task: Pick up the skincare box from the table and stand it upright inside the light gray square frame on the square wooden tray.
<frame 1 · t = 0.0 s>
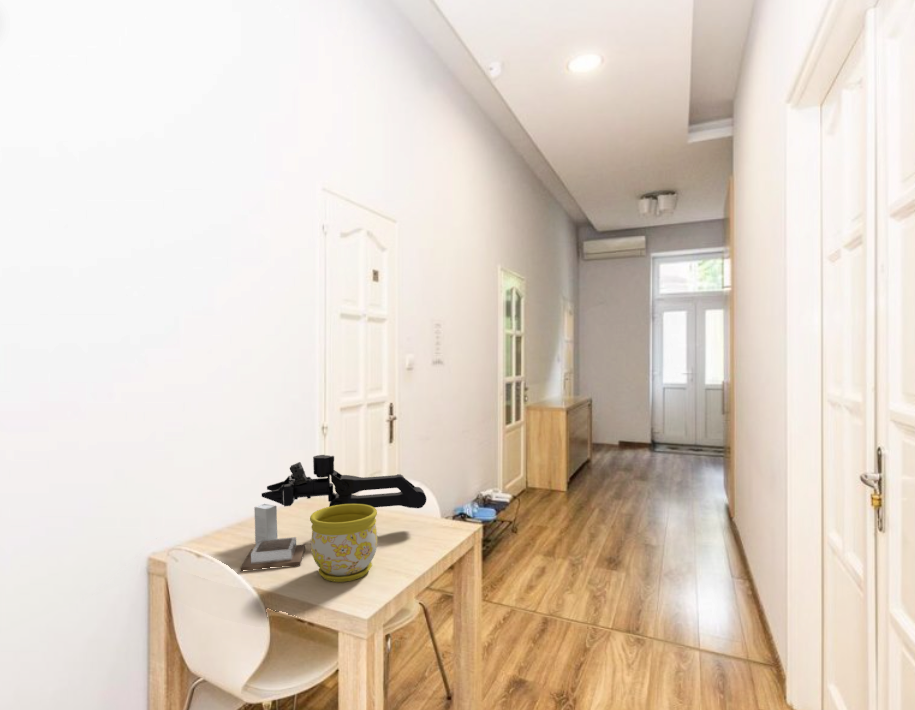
hand: (264, 491, 166), 17 cm above the table, tool horizontal, fingers open, 9 cm apart
flowerpot: (345, 573, 140), on the table
skincare box: (266, 543, 164), on the table
square wooden tray: (274, 559, 151), on the table
light gray square frame: (274, 550, 151), on the square wooden tray, point 3 cm above the table
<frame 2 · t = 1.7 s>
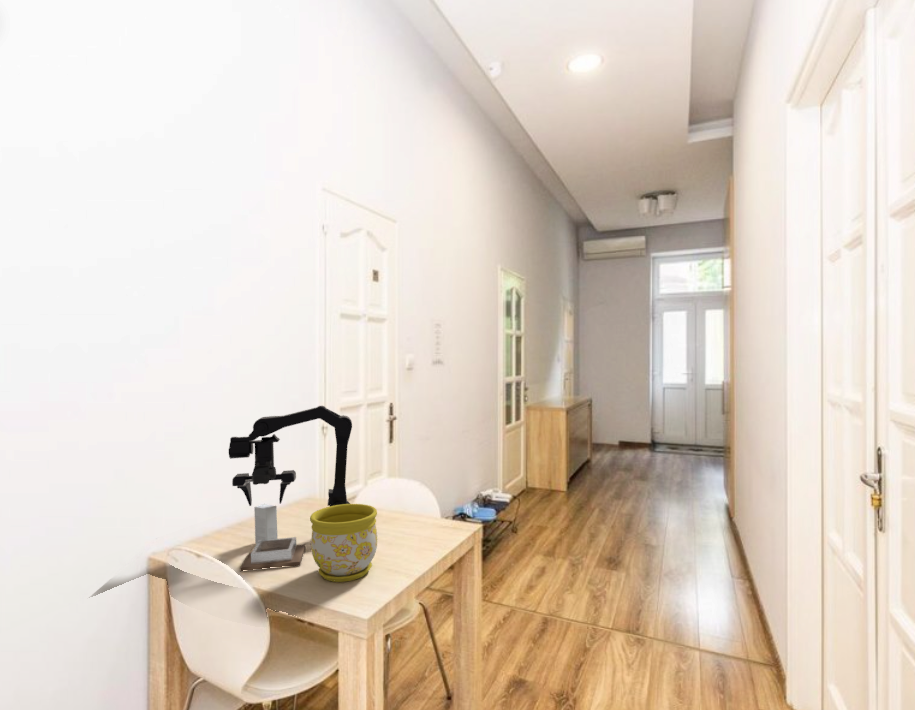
hand: (265, 504, 165), 12 cm above the table, tool pointing down, fingers open, 9 cm apart
nothing on the table moved.
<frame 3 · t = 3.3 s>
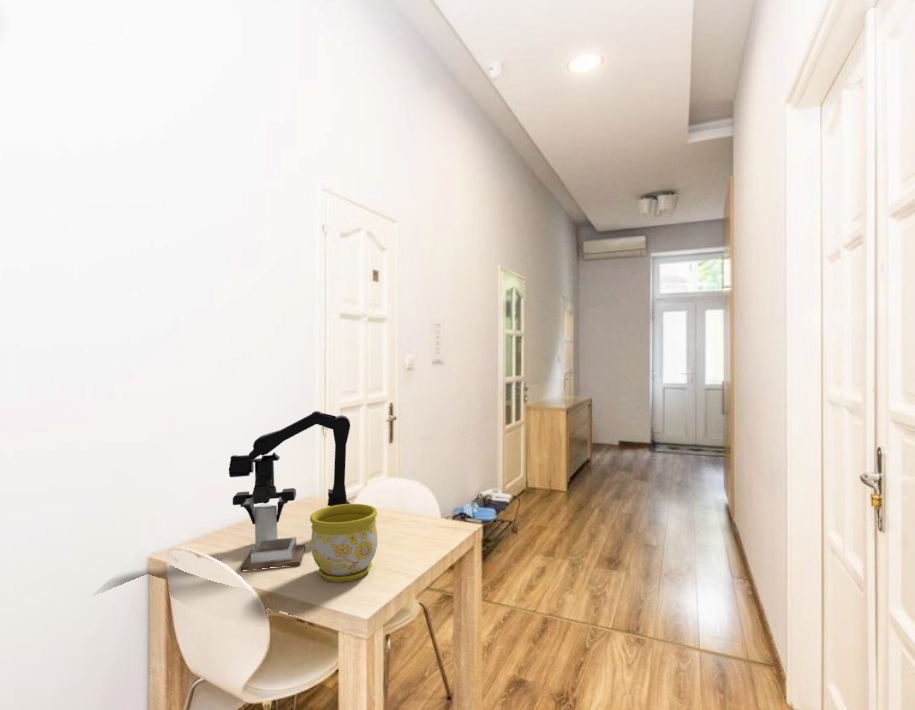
hand: (265, 522, 165), 7 cm above the table, tool pointing down, fingers closed on skincare box, 7 cm apart
skincare box: (266, 543, 164), on the table, touching gripper
everything else where it was.
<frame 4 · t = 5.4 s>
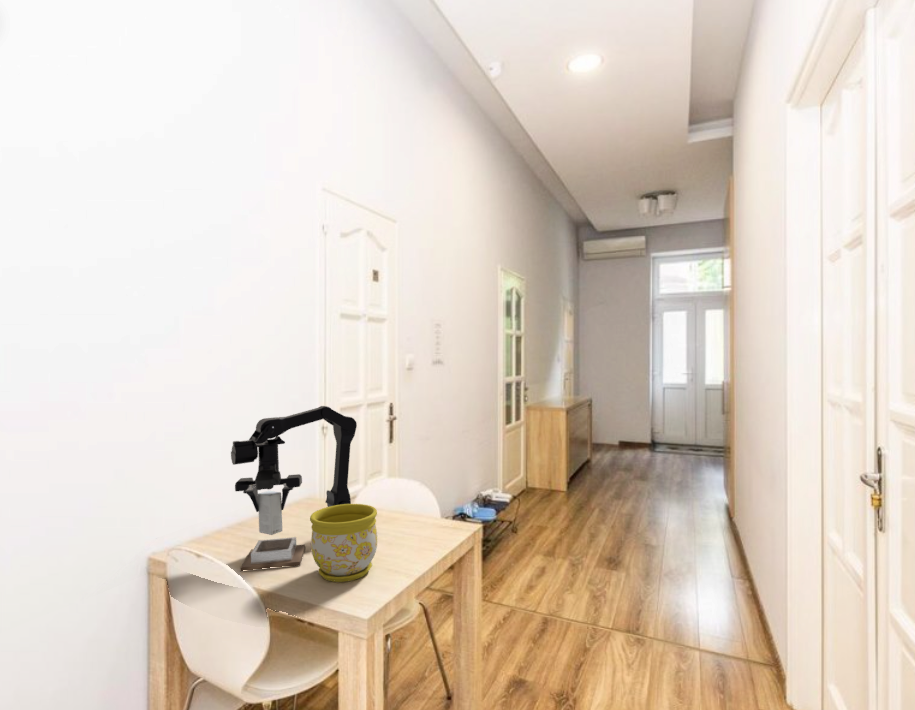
hand: (270, 510, 156), 13 cm above the table, tool pointing down, fingers closed on skincare box, 7 cm apart
skincare box: (270, 532, 156), point 6 cm above the table, touching gripper
everything else where it was.
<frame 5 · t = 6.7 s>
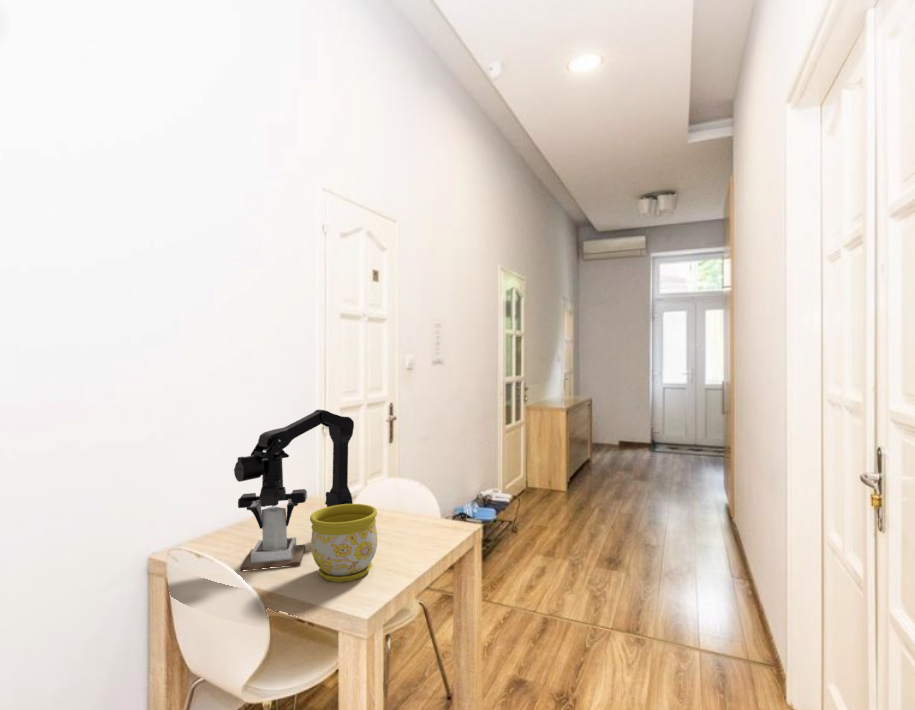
hand: (274, 527, 151), 9 cm above the table, tool pointing down, fingers closed on skincare box, 7 cm apart
skincare box: (275, 549, 151), point 3 cm above the table, touching gripper
everything else where it was.
when the fingers open (9 cm above the table, at t = 7.7 s): skincare box drops 1 cm, resting on square wooden tray.
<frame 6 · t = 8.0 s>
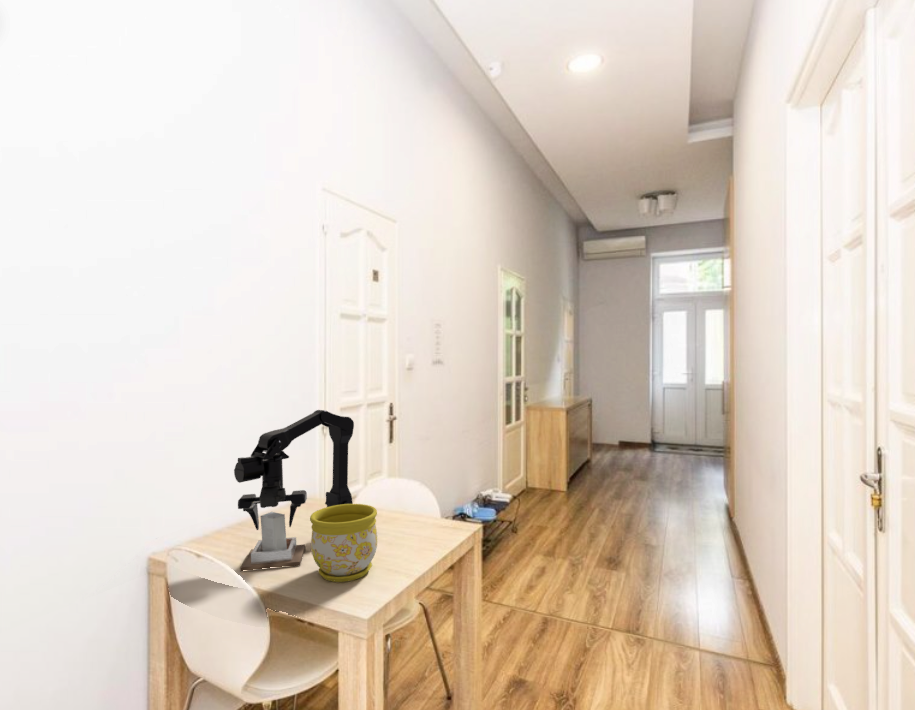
hand: (274, 528, 151), 9 cm above the table, tool pointing down, fingers open, 9 cm apart
skincare box: (275, 555, 151), point 1 cm above the table, touching square wooden tray
everything else where it was.
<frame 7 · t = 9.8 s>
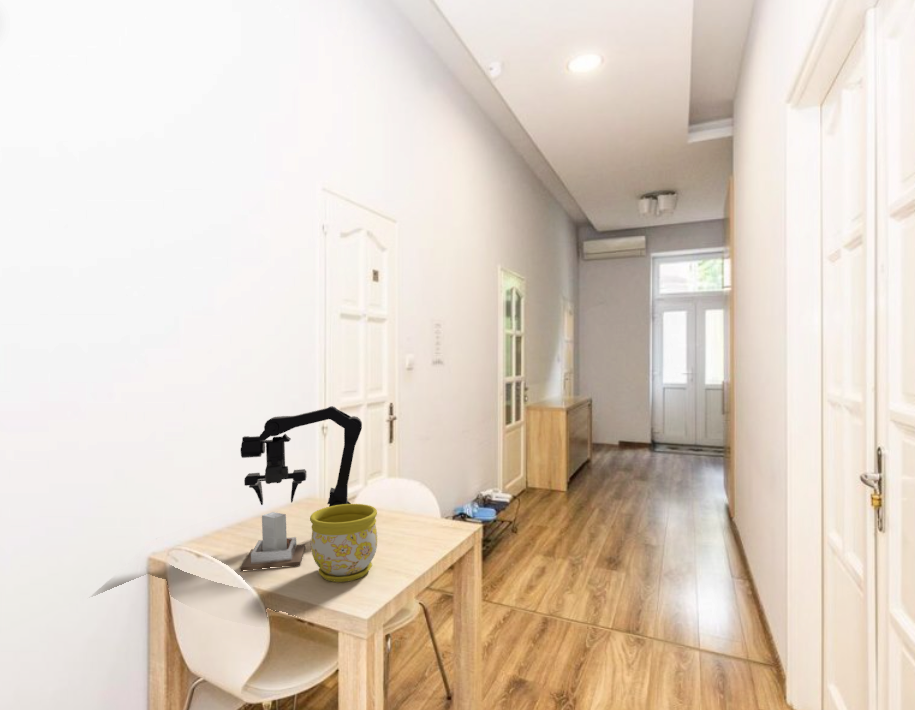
hand: (277, 503, 166), 12 cm above the table, tool pointing down, fingers open, 9 cm apart
nothing on the table moved.
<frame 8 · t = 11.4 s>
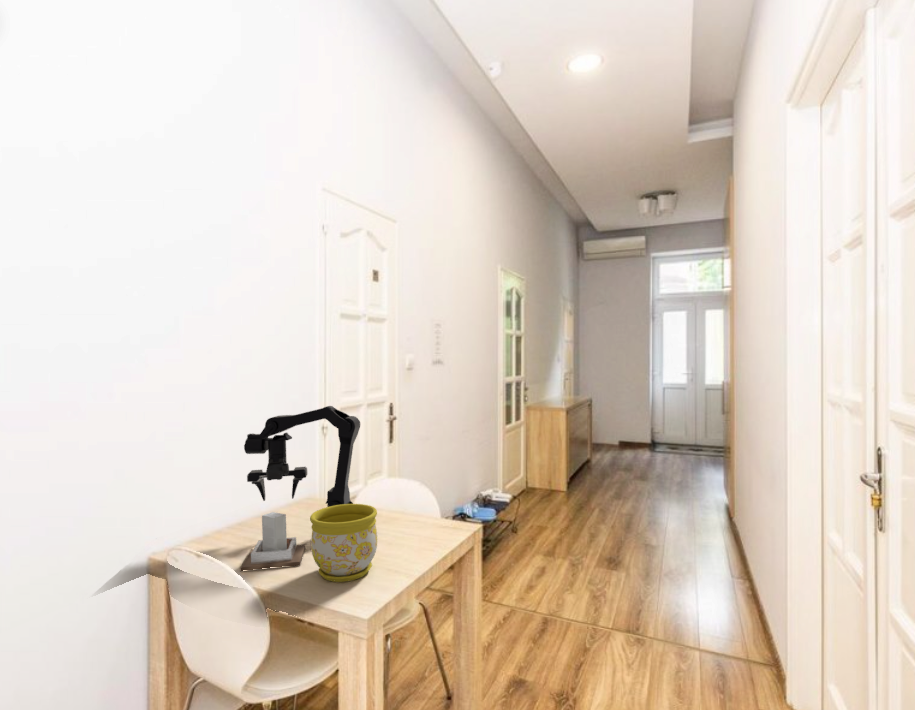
hand: (278, 499, 172), 12 cm above the table, tool pointing down, fingers open, 9 cm apart
nothing on the table moved.
at the end: skincare box 0.1 cm off-centre on the light gray square frame, point 1.0 cm above the light gray square frame's base; skincare box tilted 0°; the gripper is holding nothing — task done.
